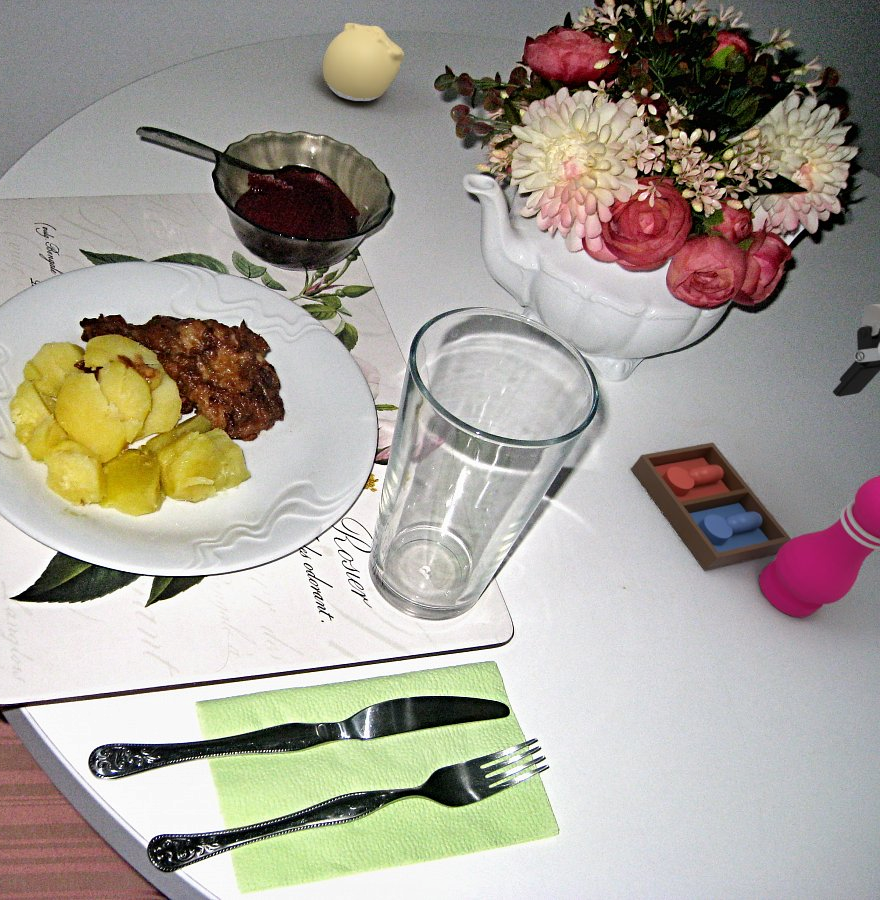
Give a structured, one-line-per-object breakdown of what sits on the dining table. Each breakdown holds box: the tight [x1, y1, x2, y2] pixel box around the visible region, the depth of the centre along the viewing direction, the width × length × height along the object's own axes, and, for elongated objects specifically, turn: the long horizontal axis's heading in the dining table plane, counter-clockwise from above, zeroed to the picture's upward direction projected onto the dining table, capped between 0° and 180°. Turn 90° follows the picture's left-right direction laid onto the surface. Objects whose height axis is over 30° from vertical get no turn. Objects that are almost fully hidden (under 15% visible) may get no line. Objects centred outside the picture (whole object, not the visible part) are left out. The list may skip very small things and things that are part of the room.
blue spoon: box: [698, 511, 762, 545], centre depth 98 cm, size 8×3×2 cm, turn 109°
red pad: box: [655, 458, 748, 513], centre depth 102 cm, size 10×7×2 cm
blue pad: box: [689, 503, 769, 553], centre depth 98 cm, size 9×6×1 cm, turn 109°
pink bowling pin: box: [758, 474, 880, 618], centre depth 87 cm, size 7×7×20 cm
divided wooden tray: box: [630, 442, 792, 572], centre depth 100 cm, size 11×14×2 cm
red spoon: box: [662, 465, 724, 496], centre depth 102 cm, size 8×3×2 cm, turn 109°
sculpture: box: [322, 22, 405, 99], centre depth 146 cm, size 12×12×11 cm
